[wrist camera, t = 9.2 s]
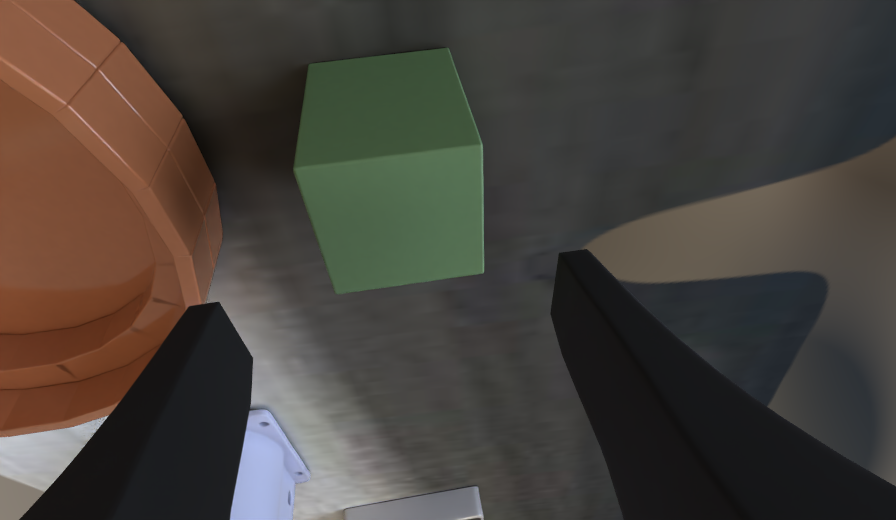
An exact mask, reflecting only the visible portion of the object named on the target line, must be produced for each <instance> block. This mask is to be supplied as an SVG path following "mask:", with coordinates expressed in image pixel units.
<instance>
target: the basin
mask: <svg viewBox="0 0 896 520" xmlns="http://www.w3.org/2000/svg"><path fill="white" fill-rule="evenodd" d="M222 236H223V231H222V224H221V217H220V210H219V203H218V196H217V189H216V184H215V182H214V179H213V177H212V175H211V173H210V171H209V168H208V166H207V164H206V162H205V160H204V158H203V156H202V154H201V152H200V150H199V148H198V146H197V144H196V142H195V140H194V138H193V135H192V133H191V131H190V129H189V127H188V125H187V123H186V121H185V119H184V118H183V116H182V114H181V113H180V112H179V110H178V109H177V108H176V107H175V105H174V104H173V103H172V102H171V100H170V99H169V98H168V97H167V96H166V94H165V93H164V92H163V91H162V89H161V88H160V87H159V86H158V84H157V83H156V82H155V81H154V80H153V78H152V77H151V76H150V75H149V73H148V72H147V71H146V70H145V69H144V67H143V66H142V65H141V64H140V62H139V61H138V60H137V59H136V57H135V56H134V55H133V54H132V53H131V51H130V50H129V49H128V48H127V46H126V45H125V44H124V43H123V42H120V39H119V38H118V37H117V36H115V35H114V34H113V33H112V32H111V31H110V30H108V29H107V28H106V27H105V26H104V25H102V24H101V23H100V22H99V21H98V20H97V19H95V18H94V17H93V16H92V15H91V14H90V13H88V12H87V11H86V10H85V9H84V8H82V7H81V6H80V5H79V4H78V3H77V2H75V1H74V0H0V437H7V436H8V437H11V436H17V435H24V434H30V433H37V432H43V431H50V430H56V429H63V428H70V427H74V426H77V425H80V424H83V423H86V422H89V421H92V420H96V419H99V418H102V417H105V416H108V415H110V414H111V412H112V411H113V410H114V409H115V407H116V406H117V405H118V403H119V402H120V401H121V399H122V398H123V397H124V395H125V394H126V393H127V391H128V390H129V389H130V387H131V386H132V384H133V383H134V382H135V380H136V379H137V378H138V376H139V375H140V374H141V372H142V371H143V370H144V368H145V367H146V365H147V364H148V363H149V361H150V360H151V358H152V357H153V356H154V354H155V353H156V351H157V350H158V349H159V347H160V346H161V344H162V343H163V342H164V340H165V339H166V337H167V336H168V334H169V333H170V332H171V330H172V329H173V327H174V326H175V325H176V323H177V322H178V320H179V319H180V318H181V316H182V315H183V314H184V312H185V311H186V310H187V308H188V307H189V306H193V305H200V304H206V301H207V297H208V294H209V290H210V286H211V283H212V279H213V275H214V271H215V267H216V263H217V259H218V255H219V251H220V247H221V243H222V239H223V238H222Z"/></svg>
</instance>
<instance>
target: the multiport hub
mask: <svg viewBox="0 0 896 520" xmlns="http://www.w3.org/2000/svg"><path fill="white" fill-rule="evenodd" d="M344 520H484V519H483V513H482V507H481V501H480V496H479V490H478V487H476V486H473V487H467V488H461V489H456V490H450V491H444V492H439V493H433V494H427V495H422V496H416V497H411V498H405V499H399V500H394V501H388V502H383V503H377V504H371V505H366V506H360V507H354V508H349V509H346V510H344Z"/></svg>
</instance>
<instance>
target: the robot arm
mask: <svg viewBox="0 0 896 520" xmlns="http://www.w3.org/2000/svg"><path fill="white" fill-rule="evenodd" d="M551 317H552V321H553V324H554V328H555V332H556V335H557V339H558V342H559V346H560V349H561V353H562V356H563V358H564V361H565V363H566V366H567V368H568V370H569V373H570V375H571V378H572V380H573V383H574V385H575V387H576V390H577V392H578V395H579V397H580V399H581V402H582V404H583V407H584V409H585V411H586V414H587V416H588V418H589V421H590V423H591V426H592V428H593V430H594V433H595V435H596V438H597V440H598V442H599V445H600V447H601V450H602V453H603V455H604V458H605V461H606V463H607V466H608V469H609V473H610V476H611V479H612V482H613V486H614V489H615V492H616V495H617V498H618V502H619V505H620V508H621V511H622V515H623V518H624V520H896V486H894V485H892V484H890V483H889V482H887V481H885V480H884V479H881V478H880V477H878V476H877V475H875V474H873V473H871V472H870V471H868V470H866V469H864V468H863V467H861V466H859V465H857V464H856V463H854V462H852V461H851V460H849V459H847V458H846V457H844V456H842V455H841V454H839V453H837V452H836V451H834V450H833V449H831V448H829V447H828V446H826V445H825V444H823V443H821V442H820V441H819V440H817V439H815V438H814V437H812V436H811V435H809V434H807V433H806V432H804V431H803V430H801V429H800V428H798V427H797V426H795V425H794V424H792V423H790V422H789V421H787V420H786V419H784V418H783V417H781V416H779V415H778V414H777V413H775V412H774V411H772V410H771V409H769V408H768V407H767V406H765V405H764V404H762V403H761V402H760V401H758V400H757V399H755V398H754V397H752V396H751V395H750V394H748V393H747V392H746V391H744V390H743V389H742V388H740V387H739V386H738V385H736V384H735V383H733V382H732V381H731V380H729V379H728V378H727V377H726V376H724V375H723V374H722V373H720V372H719V371H718V370H717V369H715V368H714V367H713V366H712V365H710V364H709V363H708V362H707V361H705V360H704V359H703V358H702V357H701V356H699V355H698V354H697V353H696V352H695V351H693V350H692V349H691V348H690V347H689V346H688V345H686V344H685V343H684V342H683V341H682V340H680V339H679V338H678V337H677V336H676V335H675V334H674V333H673V332H671V331H670V330H669V329H668V328H667V327H666V326H665V325H664V324H663V323H662V322H660V321H659V320H658V319H657V318H656V317H655V316H654V315H653V314H652V313H651V312H650V311H649V310H648V309H646V308H645V307H644V306H643V305H642V304H641V303H640V302H639V301H638V300H637V299H636V298H635V297H634V296H633V295H632V294H631V293H630V292H629V291H628V290H627V289H626V288H625V287H624V286H623V285H622V284H621V283H620V282H619V281H618V280H617V279H616V278H615V277H614V276H613V275H612V274H611V273H610V272H609V271H608V270H607V269H606V268H605V267H604V266H603V265H602V264H601V263H600V262H599V261H598V260H597V258H596V257H595V256H594V255H593V254H592V253H591V252H589V251H588V250H587V249H584V250H577V251H570V252H563V253H559V257H558V264H557V271H556V278H555V285H554V292H553V299H552V306H551ZM252 369H253V357H252V356H251V354H250V352H249V351H248V349H247V347H246V346H245V344H244V342H243V341H242V339H241V337H240V336H239V334H238V332H237V331H236V329H235V327H234V326H233V324H232V322H231V321H230V319H229V317H228V316H227V314H226V312H225V311H224V309H223V307H222V306H221V304H220V302H214V303H207V304H200V305H193V306H189V307H188V308H187V310H186V311H185V312H184V314H183V315H182V316H181V318H180V319H179V320H178V322H177V323H176V325H175V326H174V327H173V329H172V330H171V332H170V333H169V334H168V336H167V337H166V339H165V340H164V342H163V343H162V344H161V346H160V347H159V349H158V350H157V351H156V353H155V354H154V356H153V357H152V358H151V360H150V361H149V363H148V364H147V365H146V367H145V368H144V370H143V371H142V372H141V374H140V375H139V376H138V378H137V379H136V380H135V382H134V383H133V384H132V386H131V387H130V389H129V390H128V391H127V393H126V394H125V395H124V397H123V398H122V399H121V401H120V402H119V403H118V405H117V406H116V407H115V409H114V410H113V411H112V412H111V414H110V415H109V416H108V418H107V419H106V420H105V421H104V423H103V424H102V425H101V426H100V428H99V429H98V430H97V431H96V432H95V434H94V435H93V436H92V437H91V439H90V440H89V441H88V442H87V444H86V445H85V446H84V447H83V449H82V450H81V451H80V452H79V454H78V455H77V456H76V457H75V458H74V460H73V461H72V462H71V463H70V464H69V465H68V467H67V468H66V469H65V470H64V471H63V472H62V474H61V475H60V476H59V477H58V478H57V479H56V480H55V482H54V483H53V484H52V485H51V486H50V487H49V488H48V489H47V490H46V491H45V493H44V494H43V495H42V496H41V497H40V498H39V499H38V500H37V501H36V502H35V503H34V505H33V506H32V507H31V508H30V509H29V510H28V511H27V512H26V513H25V514H24V515H23V517H21V518H20V519H19V520H293V509H294V497H295V484H297V483H303V482H307V481H309V480H310V472H309V471H308V469H307V468H306V466H305V465H304V463H303V462H302V460H301V458H300V457H299V455H298V454H297V452H296V451H295V449H294V448H293V446H292V445H291V443H290V442H289V440H288V439H287V437H286V436H285V434H284V432H283V431H282V429H281V428H280V426H279V425H278V423H277V422H276V420H275V419H274V417H273V416H272V414H271V413H270V412H269V411H268V410H264V409H258V410H252V411H249V410H250V404H251V391H252Z"/></svg>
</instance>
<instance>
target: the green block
mask: <svg viewBox="0 0 896 520" xmlns="http://www.w3.org/2000/svg"><path fill="white" fill-rule="evenodd" d="M293 172H294V175H295V177H296V180H297V183H298V186H299V189H300V192H301V195H302V198H303V201H304V204H305V207H306V210H307V213H308V216H309V219H310V222H311V224H312V227H313V230H314V233H315V236H316V239H317V242H318V245H319V248H320V251H321V254H322V257H323V260H324V263H325V266H326V269H327V271H328V274H329V277H330V280H331V283H332V286H333V289H334V292H335V294H343V293H350V292H357V291H364V290H371V289H378V288H385V287H392V286H399V285H406V284H413V283H420V282H427V281H434V280H441V279H448V278H455V277H462V276H469V275H476V274H482V273H483V272H484V209H483V144H482V142H481V139H480V136H479V133H478V130H477V127H476V125H475V122H474V119H473V116H472V113H471V110H470V108H469V105H468V102H467V99H466V96H465V93H464V91H463V88H462V85H461V82H460V79H459V76H458V74H457V71H456V68H455V65H454V62H453V59H452V57H451V54H450V51H449V49H448V48H442V49H433V50H424V51H416V52H407V53H399V54H390V55H381V56H373V57H364V58H356V59H347V60H338V61H330V62H321V63H313V64H309V65H308V72H307V78H306V85H305V92H304V99H303V106H302V112H301V119H300V126H299V133H298V139H297V146H296V153H295V160H294V166H293Z"/></svg>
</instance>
